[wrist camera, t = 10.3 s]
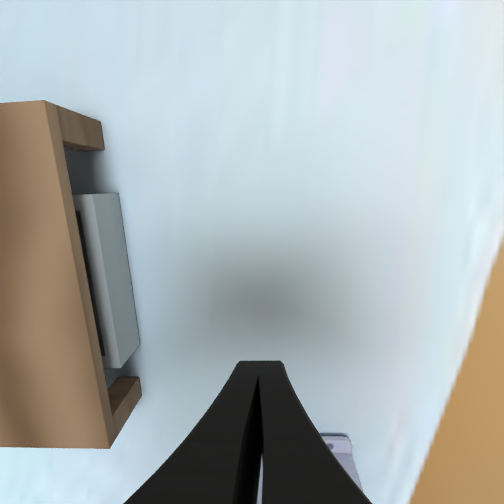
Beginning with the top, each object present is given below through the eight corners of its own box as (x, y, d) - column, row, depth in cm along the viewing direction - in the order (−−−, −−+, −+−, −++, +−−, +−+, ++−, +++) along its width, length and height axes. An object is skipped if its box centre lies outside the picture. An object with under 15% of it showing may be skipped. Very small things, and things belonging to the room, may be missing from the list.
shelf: (100, 121, 16) (43, 100, 12) (141, 395, 20) (109, 448, 16) (-44, 130, 17) (-144, 113, 13) (24, 395, 21) (-35, 446, 17)
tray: (118, 192, 17) (92, 194, 15) (140, 344, 19) (120, 368, 17) (7, 197, 18) (-36, 199, 15) (41, 345, 20) (8, 368, 17)
